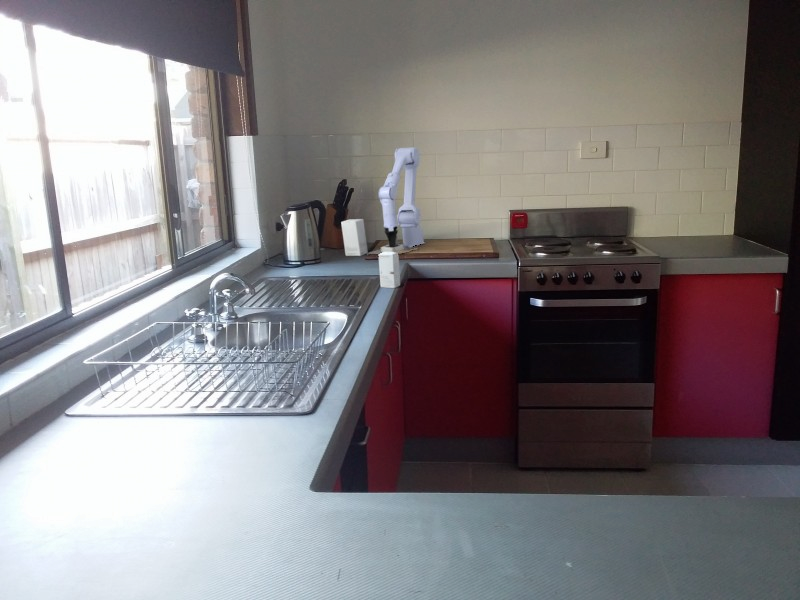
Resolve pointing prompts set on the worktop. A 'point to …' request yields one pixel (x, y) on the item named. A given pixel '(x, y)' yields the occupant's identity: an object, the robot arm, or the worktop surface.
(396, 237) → the jar with red lid
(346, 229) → the skincare box
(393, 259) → the skincare box
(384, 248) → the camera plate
